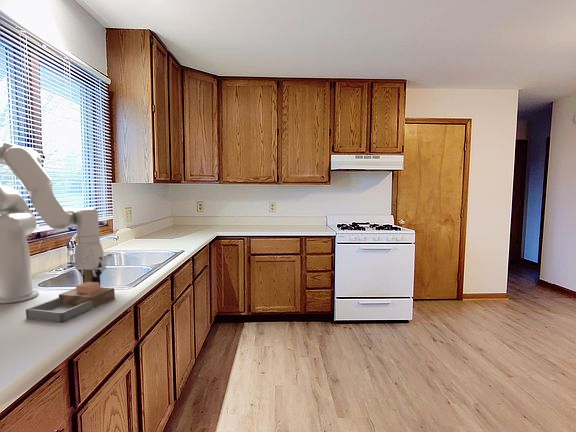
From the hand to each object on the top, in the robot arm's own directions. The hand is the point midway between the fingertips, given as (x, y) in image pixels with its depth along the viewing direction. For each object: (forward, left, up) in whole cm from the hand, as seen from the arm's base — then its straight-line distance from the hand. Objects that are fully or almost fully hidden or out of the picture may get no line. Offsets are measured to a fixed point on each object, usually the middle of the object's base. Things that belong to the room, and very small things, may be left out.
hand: (91, 285), depth 132 cm
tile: (+9, -11, +2) cm, 14 cm away
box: (+9, -22, -2) cm, 24 cm away
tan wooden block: (+9, -11, -2) cm, 14 cm away
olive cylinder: (0, 0, -2) cm, 2 cm away
